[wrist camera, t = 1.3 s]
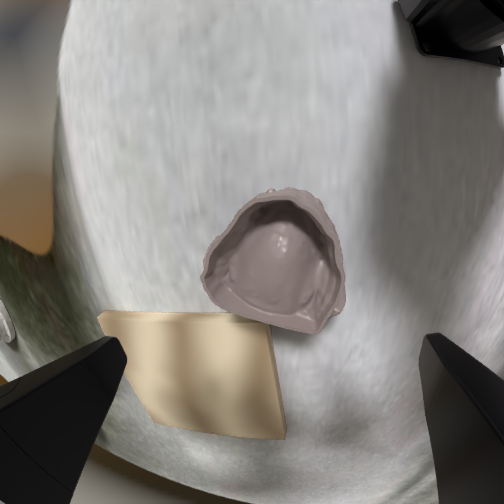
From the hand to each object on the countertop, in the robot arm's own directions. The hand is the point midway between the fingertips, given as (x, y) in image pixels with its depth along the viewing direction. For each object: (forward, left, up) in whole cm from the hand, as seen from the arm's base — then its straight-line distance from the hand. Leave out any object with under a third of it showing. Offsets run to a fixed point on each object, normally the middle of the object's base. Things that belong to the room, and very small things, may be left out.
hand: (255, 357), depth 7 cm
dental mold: (0, 0, -10) cm, 10 cm away
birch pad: (+9, +12, -10) cm, 18 cm away
